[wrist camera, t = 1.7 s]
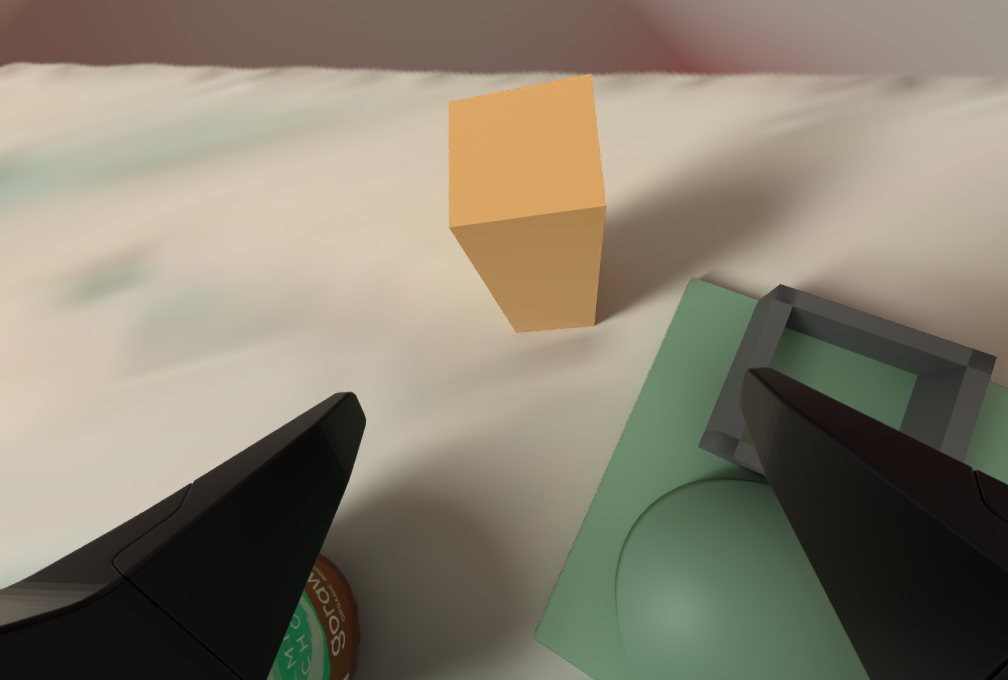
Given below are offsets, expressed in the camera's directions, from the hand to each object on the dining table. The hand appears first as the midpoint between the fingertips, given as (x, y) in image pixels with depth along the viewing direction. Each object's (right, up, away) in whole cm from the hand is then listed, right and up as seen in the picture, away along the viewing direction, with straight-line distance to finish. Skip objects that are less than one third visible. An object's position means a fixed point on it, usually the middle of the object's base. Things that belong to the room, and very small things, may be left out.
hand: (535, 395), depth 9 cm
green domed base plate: (+12, -7, +10) cm, 17 cm away
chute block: (+2, +4, +15) cm, 15 cm away
